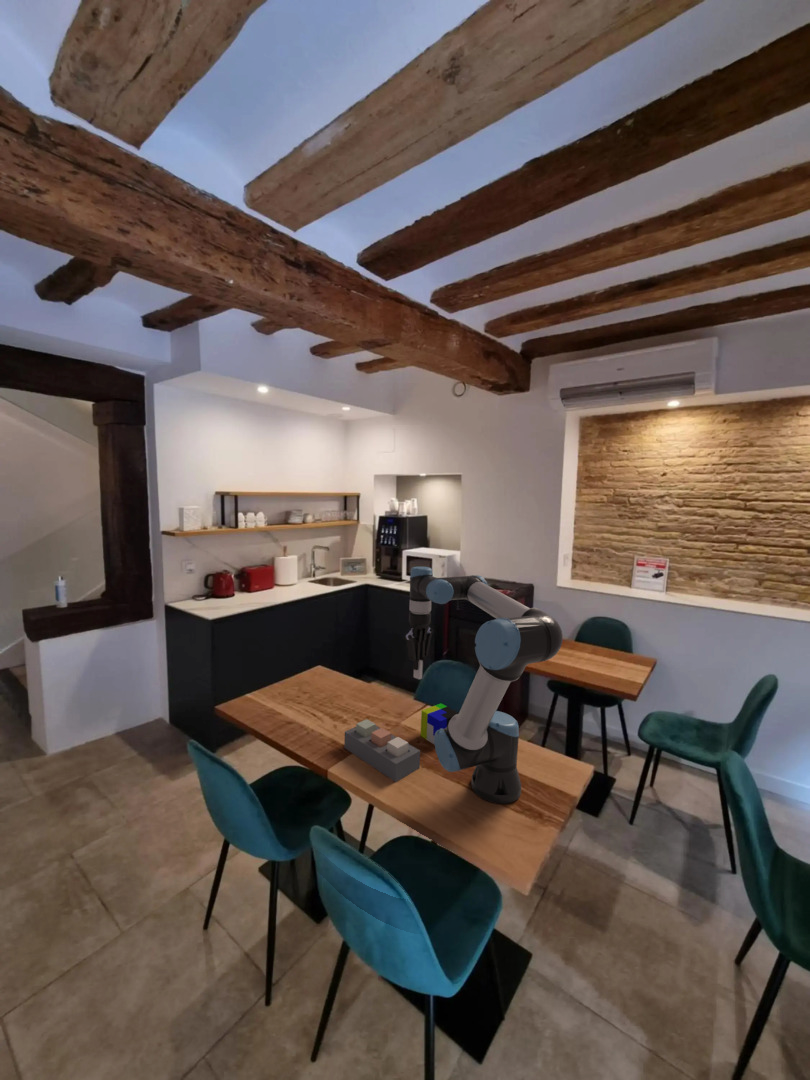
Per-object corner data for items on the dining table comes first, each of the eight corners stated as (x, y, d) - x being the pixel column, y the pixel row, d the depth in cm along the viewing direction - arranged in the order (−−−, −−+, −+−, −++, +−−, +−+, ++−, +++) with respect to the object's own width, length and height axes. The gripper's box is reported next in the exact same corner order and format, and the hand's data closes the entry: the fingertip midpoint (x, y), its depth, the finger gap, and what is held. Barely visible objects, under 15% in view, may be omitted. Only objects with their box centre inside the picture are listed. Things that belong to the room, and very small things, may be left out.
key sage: (375, 744, 160) (375, 724, 159) (364, 749, 157) (365, 728, 156) (366, 739, 163) (366, 719, 163) (355, 743, 160) (356, 723, 159)
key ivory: (407, 764, 149) (408, 742, 148) (397, 770, 145) (397, 748, 145) (397, 758, 152) (398, 736, 151) (386, 763, 149) (387, 742, 148)
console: (419, 767, 149) (420, 750, 149) (395, 782, 142) (396, 764, 141) (368, 736, 168) (368, 721, 167) (344, 747, 160) (344, 731, 159)
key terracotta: (390, 754, 154) (391, 733, 154) (380, 759, 151) (380, 738, 150) (381, 748, 158) (381, 727, 157) (370, 753, 154) (371, 732, 154)
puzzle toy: (439, 748, 162) (440, 721, 161) (420, 736, 169) (421, 710, 168) (458, 739, 168) (459, 713, 167) (439, 727, 176) (440, 703, 175)
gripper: (424, 606, 163) (422, 670, 166) (399, 612, 154) (397, 679, 156) (440, 610, 158) (438, 676, 160) (415, 617, 149) (413, 686, 151)
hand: (417, 677), depth 158 cm, fingers closed
